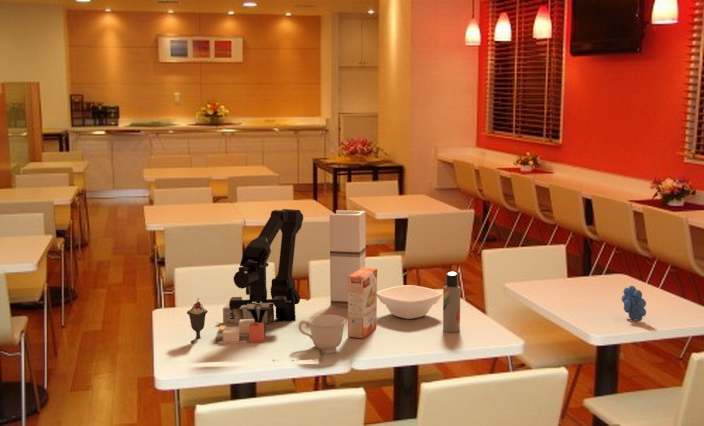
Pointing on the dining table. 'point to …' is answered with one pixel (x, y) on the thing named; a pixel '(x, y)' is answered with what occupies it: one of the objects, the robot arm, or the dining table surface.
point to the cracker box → (362, 302)
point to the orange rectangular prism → (256, 332)
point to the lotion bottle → (451, 303)
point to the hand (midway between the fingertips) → (258, 327)
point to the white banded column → (345, 251)
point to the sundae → (197, 318)
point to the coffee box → (246, 314)
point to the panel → (243, 339)
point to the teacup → (325, 331)
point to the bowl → (409, 300)
